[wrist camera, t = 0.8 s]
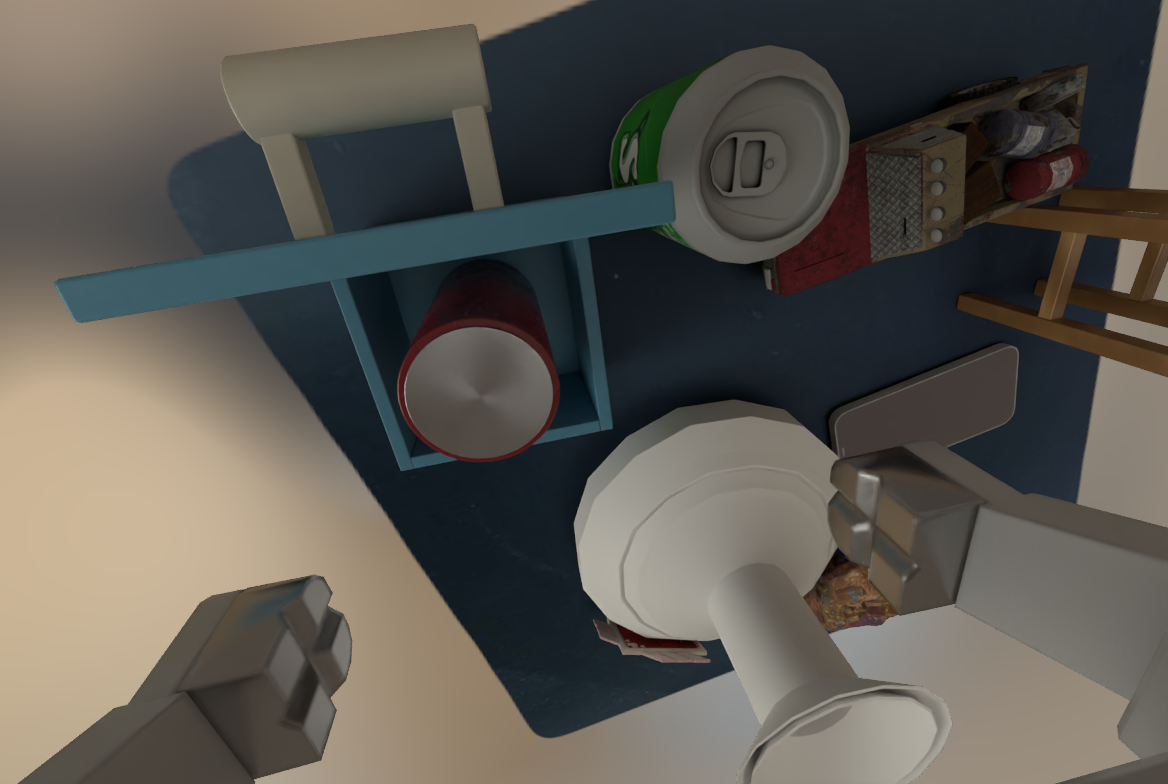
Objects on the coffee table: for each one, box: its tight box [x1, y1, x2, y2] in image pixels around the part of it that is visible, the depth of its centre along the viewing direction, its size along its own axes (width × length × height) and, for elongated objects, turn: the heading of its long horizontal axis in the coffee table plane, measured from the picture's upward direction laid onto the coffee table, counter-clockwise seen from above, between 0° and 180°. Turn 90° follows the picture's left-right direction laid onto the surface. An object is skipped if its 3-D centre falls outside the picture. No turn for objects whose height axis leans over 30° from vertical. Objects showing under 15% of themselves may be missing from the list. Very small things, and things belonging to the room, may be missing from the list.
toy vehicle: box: [762, 64, 1090, 296], centre depth 27 cm, size 7×18×8 cm, turn 108°
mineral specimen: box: [803, 555, 899, 631], centre depth 39 cm, size 12×8×7 cm, turn 150°
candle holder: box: [574, 400, 953, 784], centre depth 30 cm, size 20×20×19 cm
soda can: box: [609, 45, 850, 264], centre depth 23 cm, size 8×8×12 cm
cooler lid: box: [55, 24, 676, 323], centre depth 14 cm, size 12×11×4 cm
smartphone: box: [829, 343, 1019, 459], centre depth 39 cm, size 7×1×15 cm
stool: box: [957, 186, 1168, 377], centre depth 27 cm, size 8×8×17 cm
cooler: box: [331, 196, 613, 471], centre depth 27 cm, size 11×11×8 cm
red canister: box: [397, 259, 560, 462], centre depth 24 cm, size 6×6×12 cm
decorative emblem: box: [593, 618, 710, 663], centre depth 40 cm, size 10×1×10 cm
